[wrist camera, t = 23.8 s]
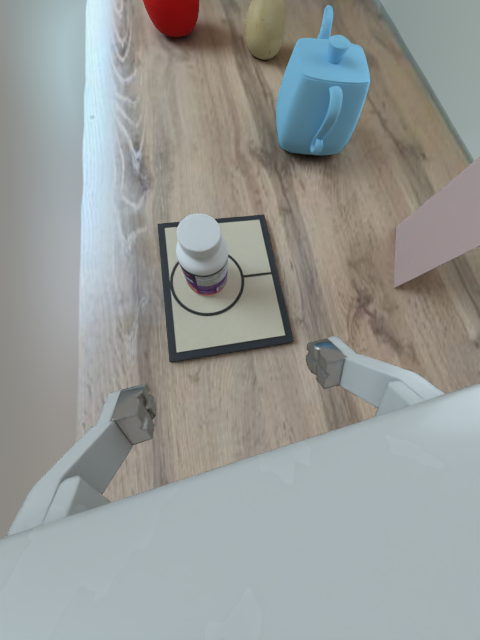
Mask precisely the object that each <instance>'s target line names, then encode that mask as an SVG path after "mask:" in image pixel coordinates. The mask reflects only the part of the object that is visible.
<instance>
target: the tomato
mask: <svg viewBox="0 0 480 640" xmlns="http://www.w3.org/2000/svg"><path fill="white" fill-rule="evenodd" d="M143 2H144V5H145V8H146V10H147V12H148V15H149V17H150V19H151V20H152V22H153V24H154V25H155V27H156V28H157V29H158V30H159V31H160V32H161V33H163V34H165V35H167V36H170V37H183V36H186V35H188V34H190V33H191V32H192V30H193V29H194V27H195V25H196V22H197V19H198V13H199V0H143Z"/></svg>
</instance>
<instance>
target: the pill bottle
mask: <svg viewBox="0 0 480 640" xmlns="http://www.w3.org/2000/svg"><path fill="white" fill-rule="evenodd" d="M177 238H178V242H177V246H176V255H177V259H178V261H179V264H180V266H181V269H182V271H183V274H184V276H185V278H186V281H187V283H188V285H189V287H190V288H191V290H192V291H193V292H194V293H196V294H198V295H200V296H204V297H210V296H214V295H217V294H218V293H220V292H221V291H222V290H223V289H224V287H225V286H226V283H227V275H228V246H227V243H226V241H225V239H224V238H223V236H222V235H221V229H220V226H219V224H218V223H217V221H216V220H215V219H213V218H212V217H210V216H208V215H206V214H192V215H189V216H187V217H185V218H184V219H183V220H182V221H181V222H180V223H179V225H178V227H177Z"/></svg>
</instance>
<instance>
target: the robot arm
mask: <svg viewBox="0 0 480 640" xmlns="http://www.w3.org/2000/svg"><path fill="white" fill-rule="evenodd" d="M307 350H308V351H309V352H308V354H307V355H306V363H307V366H308V368H309V370H310V371H311V373H313V374H315V375H317V377H316V379H317V381H318V382H319V383H320V385H321V386H322V387H323V389H326V388H330V387H334V386H338V385H339V386H340V387H342V388H344V389H346V390H347V391H349V392H351V393H353V394H354V395H356V396H358V397H359V398H361V399H363V400H365V401H366V402H368V403H370V404H371V405H373V406H375V407H377V408H378V409H377V412H376V414H375V417H373V418H370V419H367V420H363V421H360V422H357V423H354V424H351V425H348V426H345V427H342V428H339V429H336V430H333V431H330V432H327V433H323V434H320V435H317V436H314V437H311V438H308V439H305V440H302V441H299V442H296V443H293V444H290V445H286V446H283V447H280V448H277V449H274V450H271V451H268V452H265V453H262V454H259V455H256V456H253V457H250V458H247V459H244V460H240V461H237V462H234V463H231V464H228V465H225V466H222V467H219V468H216V469H213V470H210V471H207V472H204V473H201V474H197V475H194V476H191V477H188V478H185V479H182V480H179V481H176V482H173V483H170V484H167V485H164V486H161V487H158V488H154V489H151V490H148V491H145V492H142V493H139V494H136V495H133V496H130V497H127V498H124V499H121V500H118V501H114V502H110V501H109V500H108V499H107V498H105V497H104V496H103V495H102V494H103V493H104V491H105V489H106V488H107V486H108V485H109V483H110V481H111V480H112V478H113V477H114V475H115V474H116V472H117V470H118V469H119V467H120V466H121V464H122V463H123V461H124V459H125V458H126V456H127V455H128V453H129V452H130V450H131V448H132V447H133V446H132V445H135V444H138V443H141V442H144V441H147V440H150V439H153V432H154V423H153V421H152V420H153V419H154V417H155V416H156V403H155V399H154V397H153V396H152V395H150V394H149V390H150V389H149V388H148V386H147V385H145V384H144V385H140V386H135V387H131V388H127V389H123V390H119V391H114V392H111V393H110V394H109V395H108V397H107V399H106V402H105V405H104V407H103V410H102V412H101V415H100V417H99V420H98V422H97V425H96V426H93V427H92V428H91V429H90V430H89V431H88V432H87V433H86V434H85V435H84V436H83V437H82V438H81V439H80V440H79V441H78V442H77V443H76V444H75V445H74V446H73V447H72V448H71V449H70V450H69V451H68V452H67V453H66V454H65V455H64V456H63V457H62V458H61V459H60V460H59V461H58V462H57V463H56V464H55V465H54V466H53V467H52V468H51V469H50V470H49V471H48V472H47V473H46V474H45V475H44V476H43V477H42V478H41V479H40V480H39V481H38V482H37V483H36V484H35V485H34V486H33V487H32V488H31V490H30V492H29V494H28V496H27V498H26V500H25V502H24V504H23V505H22V507H21V509H20V511H19V513H18V515H17V517H16V519H15V520H14V522H13V524H12V526H11V528H10V530H9V532H8V534H7V535H6V537H4V538H1V539H0V640H480V383H477V384H474V385H471V386H468V387H465V388H462V389H459V390H456V391H453V392H450V393H446V394H444V393H443V392H441V391H440V390H439V389H437V388H436V387H435V386H433V385H432V384H431V383H429V382H428V381H426V380H425V379H424V378H422V377H421V376H420V375H418V374H417V373H415V372H412V371H409V370H406V369H403V368H400V367H397V366H394V365H391V364H388V363H385V362H382V361H379V360H377V359H374V358H371V357H368V356H365V355H362V354H359V355H358V354H356V353H355V352H354V351H353V350H352V349H351V348H349V347H348V346H347V345H346V344H345V343H344V342H343V341H341V340H340V339H339V338H338V337H336V336H333V337H329V338H326V339H322V340H318V341H314V342H310V343H308V344H307Z"/></svg>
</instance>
